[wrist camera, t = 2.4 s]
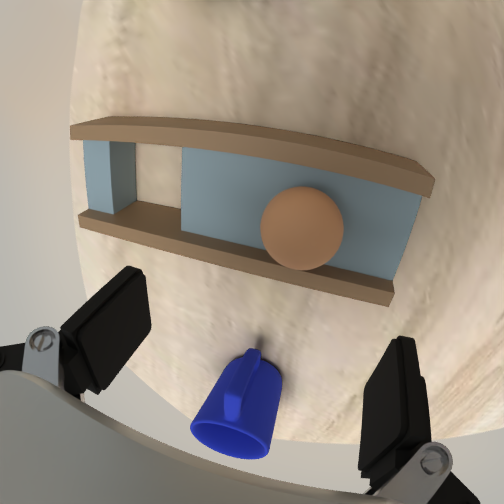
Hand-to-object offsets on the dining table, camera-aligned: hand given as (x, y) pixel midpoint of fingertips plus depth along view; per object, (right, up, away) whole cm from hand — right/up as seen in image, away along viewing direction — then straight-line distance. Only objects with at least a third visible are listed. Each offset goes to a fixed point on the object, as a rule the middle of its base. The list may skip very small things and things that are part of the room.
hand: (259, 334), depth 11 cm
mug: (0, -9, +23) cm, 24 cm away
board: (-1, +8, +13) cm, 15 cm away
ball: (+3, +4, +7) cm, 8 cm away
